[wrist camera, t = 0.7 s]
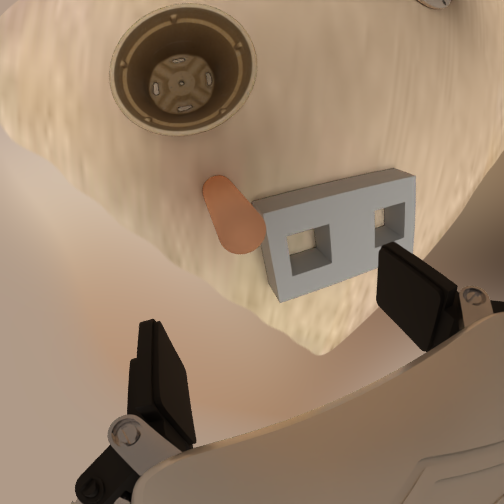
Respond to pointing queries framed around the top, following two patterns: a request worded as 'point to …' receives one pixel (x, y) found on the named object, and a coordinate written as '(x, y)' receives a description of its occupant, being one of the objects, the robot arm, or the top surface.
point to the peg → (233, 216)
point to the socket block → (335, 229)
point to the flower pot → (183, 69)
